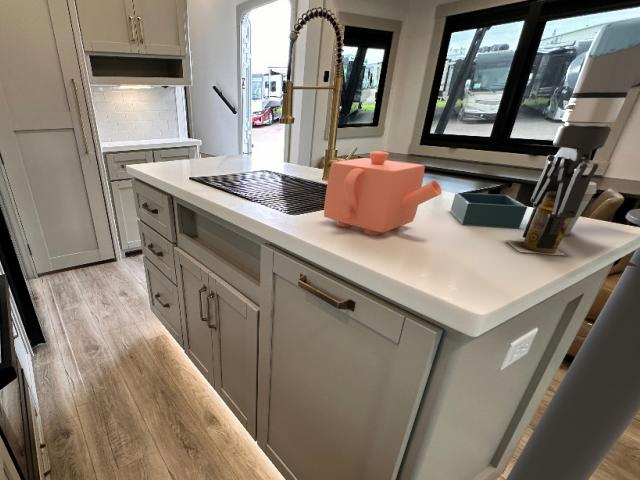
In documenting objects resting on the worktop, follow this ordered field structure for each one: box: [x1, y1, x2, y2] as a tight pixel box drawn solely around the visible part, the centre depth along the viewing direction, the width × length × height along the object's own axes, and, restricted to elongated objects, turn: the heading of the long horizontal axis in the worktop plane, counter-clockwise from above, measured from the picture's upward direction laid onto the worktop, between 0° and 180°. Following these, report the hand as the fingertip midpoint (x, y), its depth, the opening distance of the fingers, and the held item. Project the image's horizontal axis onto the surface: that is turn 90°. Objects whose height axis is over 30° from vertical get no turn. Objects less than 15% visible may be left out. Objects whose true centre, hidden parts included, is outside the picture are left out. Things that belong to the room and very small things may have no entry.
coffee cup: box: [564, 181, 597, 236], centre depth 86 cm, size 8×8×12 cm
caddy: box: [449, 192, 528, 230], centre depth 97 cm, size 13×13×6 cm
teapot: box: [323, 150, 442, 236], centre depth 87 cm, size 25×23×18 cm
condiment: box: [505, 191, 571, 256], centre depth 76 cm, size 7×8×12 cm
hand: (536, 242), depth 78 cm, fingers closed on condiment, 6 cm apart
